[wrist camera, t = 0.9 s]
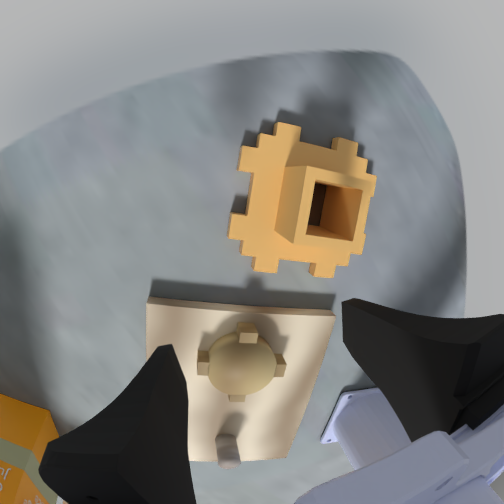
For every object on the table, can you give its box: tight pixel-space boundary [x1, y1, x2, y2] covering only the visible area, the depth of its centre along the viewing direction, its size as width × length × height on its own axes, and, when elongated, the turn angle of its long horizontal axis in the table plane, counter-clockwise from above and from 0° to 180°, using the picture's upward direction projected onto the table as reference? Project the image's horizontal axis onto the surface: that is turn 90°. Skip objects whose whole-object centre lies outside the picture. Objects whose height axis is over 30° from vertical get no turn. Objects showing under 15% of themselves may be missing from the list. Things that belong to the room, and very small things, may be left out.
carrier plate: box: [146, 296, 336, 469], centre depth 22 cm, size 14×18×4 cm
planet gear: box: [227, 122, 377, 278], centre depth 18 cm, size 10×10×5 cm
